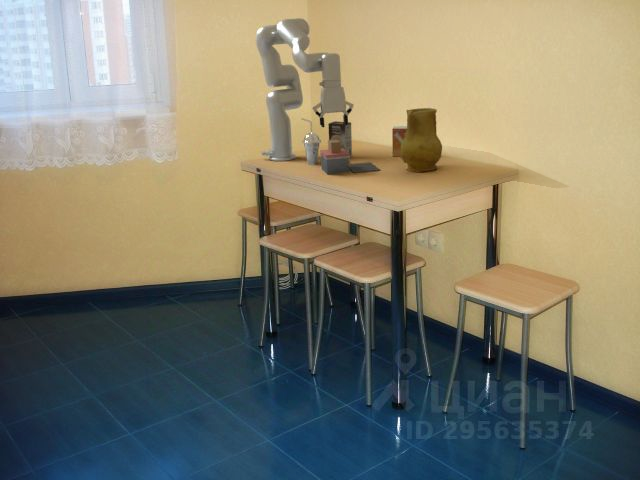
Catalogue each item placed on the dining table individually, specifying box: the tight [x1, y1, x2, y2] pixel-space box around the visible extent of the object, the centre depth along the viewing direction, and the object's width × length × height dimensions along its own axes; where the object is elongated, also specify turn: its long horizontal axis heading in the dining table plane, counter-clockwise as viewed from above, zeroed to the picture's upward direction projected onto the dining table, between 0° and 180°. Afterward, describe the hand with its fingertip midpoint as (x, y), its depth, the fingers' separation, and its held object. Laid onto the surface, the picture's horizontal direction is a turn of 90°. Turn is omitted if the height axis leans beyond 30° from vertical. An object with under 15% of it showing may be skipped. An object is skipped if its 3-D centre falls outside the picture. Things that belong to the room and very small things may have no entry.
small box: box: [391, 125, 407, 157], centre depth 335 cm, size 8×6×13 cm
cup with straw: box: [301, 118, 322, 166], centre depth 326 cm, size 8×9×20 cm
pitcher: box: [400, 107, 443, 173], centre depth 304 cm, size 17×19×25 cm
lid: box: [319, 139, 350, 158], centre depth 309 cm, size 10×12×6 cm
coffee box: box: [327, 120, 353, 158], centre depth 337 cm, size 9×6×16 cm
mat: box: [349, 162, 381, 174], centre depth 314 cm, size 12×16×1 cm
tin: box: [319, 152, 351, 176], centre depth 311 cm, size 10×12×7 cm
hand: (334, 125), depth 306 cm, fingers open, 9 cm apart
